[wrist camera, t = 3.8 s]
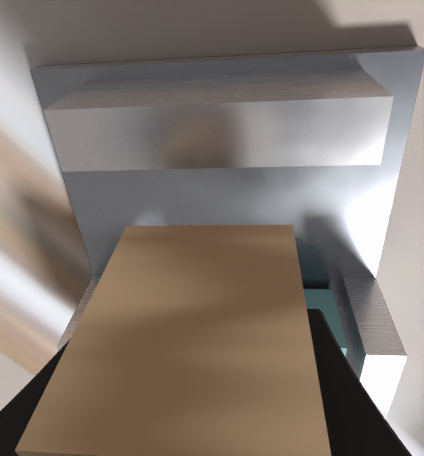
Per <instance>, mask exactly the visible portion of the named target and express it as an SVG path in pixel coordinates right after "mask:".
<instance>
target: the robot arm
mask: <svg viewBox="0 0 424 456" xmlns="http://www.w3.org/2000/svg"><path fill="white" fill-rule="evenodd" d="M307 314H308V320H309V325H310V331H311V337H312V343H313V349H314V355H315V361H316V367H317V373H318V379H319V385H320V391H321V397H322V403H323V409H324V415H325V421H326V427H327V433H328V439H329V445H330V451H331V456H412V455H411V454H410V452H409V451H408V450H407V448H406V447H405V446H404V444H403V443H402V442H401V440H400V439H399V438H398V436H397V435H396V434H395V432H394V431H393V429H392V428H391V427H390V425H389V424H388V422H387V421H386V419H385V418H384V417H383V415H382V414H381V412H380V411H379V409H378V408H377V406H376V405H375V403H374V402H373V400H372V399H371V397H370V396H369V394H368V393H367V391H366V390H365V388H364V387H363V385H362V383H361V382H360V380H359V378H358V377H357V375H356V374H355V372H354V370H353V369H352V367H351V366H350V364H349V362H348V360H347V359H346V357H345V355H344V353H343V352H342V350H341V348H340V346H339V344H338V343H337V341H336V339H335V337H334V335H333V333H332V331H331V329H330V327H329V325H328V323H327V321H326V319H325V316H324V314H323V312H322V311H321V310H320V309H307ZM70 339H71V338H70ZM70 339H69V340H68V341H67V343H66V344H65V345H64V346H63V347H62V348H61V349H60V350H59V351H58V352H57V354H56V355H55V356H54V357H53V358H52V359H51V360H50V361H49V362H48V363H47V364H46V365H45V367H44V368H43V369H42V370H41V371H40V372H39V373H38V374H37V375H36V376H35V377H34V378H33V379H32V380H31V381H30V382H29V383H28V384H27V385H26V386H25V387H24V388H23V389H22V390H21V391H20V392H19V393H18V394H17V395H16V396H15V397H14V398H13V399H12V400H11V401H10V402H9V403H8V404H7V405H6V406H5V407H4V408H3V409H2V410H1V411H0V456H18V454H17V453H16V451H15V449H16V447H17V445H18V443H19V441H20V439H21V437H22V435H23V433H24V431H25V429H26V427H27V425H28V423H29V421H30V419H31V417H32V415H33V413H34V411H35V409H36V407H37V405H38V403H39V401H40V399H41V397H42V395H43V393H44V391H45V389H46V387H47V385H48V383H49V381H50V379H51V377H52V375H53V373H54V371H55V369H56V367H57V365H58V363H59V361H60V359H61V357H62V355H63V353H64V351H65V349H66V347H67V345H68V343H69V341H70Z"/></svg>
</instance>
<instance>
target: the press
mask: <svg viewBox="0 0 424 456" xmlns="http://www.w3.org/2000/svg"><path fill="white" fill-rule="evenodd" d="M423 66H424V48H422V47H420V46H407V47H388V48H369V49H350V50H331V51H313V52H294V53H275V54H256V55H238V56H219V57H200V58H181V59H163V60H144V61H125V62H106V63H87V64H69V65H50V66H39V67H37V68H35V69H32V70H30V71H31V74H32V78H33V81H34V84H35V87H36V91H37V94H38V97H39V100H40V104H41V107H42V110H43V113H44V117H45V120H46V123H47V126H48V130H49V133H50V136H51V139H52V143H53V146H54V149H55V152H56V156H57V159H58V162H59V165H60V169H61V172H62V175H63V178H64V182H65V185H66V188H67V191H68V195H69V198H70V201H71V204H72V207H73V211H74V214H75V217H76V220H77V224H78V227H79V230H80V233H81V237H82V240H83V243H84V246H85V250H86V253H87V256H88V259H89V263H90V266H91V269H92V272H93V277H92V279H91V281H90V283H89V285H88V287H87V289H86V291H85V293H84V295H83V297H82V299H81V301H80V303H79V304H78V306H77V308H76V310H75V312H74V314H73V316H72V318H71V320H70V322H69V324H68V326H67V328H66V330H65V332H64V333H63V335H62V337H61V339H60V341H59V343H58V345H57V348H58V350H60V349H61V348H62V347H63V346H64V345H65V344H66V343H67V341H68V340H69V339H70V338H71V337H72V335H73V333H74V331H75V329H76V327H77V325H78V323H79V321H80V319H81V317H82V315H83V313H84V311H85V308H86V306H87V304H88V302H89V300H90V298H91V296H92V294H93V292H94V290H95V288H96V286H97V284H98V282H99V280H100V278H101V276H102V274H103V272H104V270H105V268H106V266H107V264H108V262H109V260H110V258H111V256H112V254H113V252H114V250H115V248H116V246H117V244H118V242H119V240H120V238H121V236H122V234H123V232H124V230H125V228H126V226H181V225H293V230H294V236H295V242H296V248H297V254H298V260H299V266H300V272H301V278H302V284H303V289H332V290H333V294H334V298H335V302H336V306H337V310H338V314H339V318H340V322H341V326H342V329H343V333H344V337H345V341H346V345H347V352H346V359H347V360H348V362H349V364H350V366H351V367H352V369H353V370H354V372H355V374H356V375H357V377H358V378H359V380H360V382H361V383H362V385H363V387H364V388H365V390H366V391H367V393H368V394H369V396H370V397H371V399H372V400H373V402H374V403H375V405H376V406H377V408H378V409H379V411H380V412H381V414H382V415H383V417H384V418H385V419H386V417H387V414H388V411H389V408H390V405H391V402H392V399H393V396H394V393H395V390H396V387H397V385H398V382H399V379H400V376H401V373H402V370H403V367H404V364H405V361H406V358H407V355H406V352H405V350H404V347H403V345H402V342H401V340H400V337H399V335H398V332H397V330H396V328H395V325H394V323H393V320H392V318H391V315H390V313H389V310H388V308H387V305H386V303H385V300H384V298H383V295H382V293H381V290H380V288H379V285H378V283H377V280H376V278H375V277H376V273H377V268H378V264H379V260H380V255H381V251H382V246H383V242H384V238H385V233H386V229H387V224H388V220H389V216H390V211H391V207H392V202H393V198H394V194H395V189H396V185H397V180H398V176H399V172H400V167H401V163H402V158H403V154H404V150H405V145H406V141H407V136H408V132H409V128H410V123H411V119H412V114H413V110H414V106H415V101H416V97H417V92H418V88H419V84H420V79H421V75H422V70H423Z"/></svg>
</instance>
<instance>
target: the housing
mask: <svg viewBox="0 0 424 456" xmlns="http://www.w3.org/2000/svg"><path fill="white" fill-rule="evenodd" d="M15 451H16V453H17V454H18V456H331V451H330V445H329V439H328V433H327V427H326V421H325V415H324V409H323V403H322V397H321V391H320V385H319V379H318V373H317V367H316V361H315V355H314V349H313V343H312V337H311V331H310V325H309V320H308V314H307V308H306V302H305V296H304V290H303V284H302V278H301V272H300V266H299V260H298V254H297V248H296V242H295V236H294V230H293V225H181V226H126V228H125V230H124V232H123V234H122V236H121V238H120V240H119V242H118V244H117V246H116V248H115V250H114V252H113V254H112V256H111V258H110V260H109V262H108V264H107V266H106V268H105V270H104V272H103V274H102V276H101V278H100V280H99V282H98V284H97V286H96V288H95V290H94V292H93V294H92V296H91V298H90V300H89V302H88V304H87V306H86V308H85V311H84V313H83V315H82V317H81V319H80V321H79V323H78V325H77V327H76V329H75V331H74V333H73V335H72V337H71V339H70V341H69V343H68V345H67V347H66V349H65V351H64V353H63V355H62V357H61V359H60V361H59V363H58V365H57V367H56V369H55V371H54V373H53V375H52V377H51V379H50V381H49V383H48V385H47V387H46V389H45V391H44V393H43V395H42V397H41V399H40V401H39V403H38V405H37V407H36V409H35V411H34V413H33V415H32V417H31V419H30V421H29V423H28V425H27V427H26V429H25V431H24V433H23V435H22V437H21V439H20V441H19V443H18V445H17V447H16V449H15Z"/></svg>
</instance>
